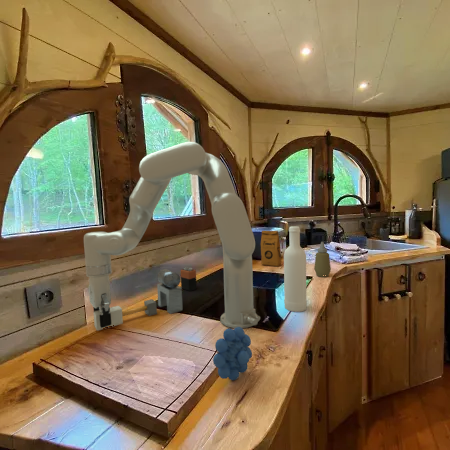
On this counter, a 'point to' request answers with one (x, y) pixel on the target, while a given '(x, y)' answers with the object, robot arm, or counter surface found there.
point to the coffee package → (270, 248)
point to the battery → (188, 279)
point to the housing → (169, 291)
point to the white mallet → (125, 313)
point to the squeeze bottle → (322, 262)
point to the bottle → (295, 273)
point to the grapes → (232, 353)
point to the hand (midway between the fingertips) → (102, 321)
